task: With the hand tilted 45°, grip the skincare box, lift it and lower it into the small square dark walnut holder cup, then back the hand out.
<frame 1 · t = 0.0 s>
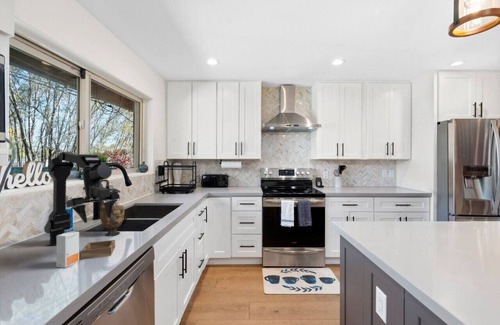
hand: (97, 220, 100), 15 cm above the worktop, tool pointing down, fingers open, 9 cm apart
walnut holder: (99, 253, 104), on the worktop
skincare box: (68, 264, 93), on the worktop
vase: (111, 234, 131), on the worktop
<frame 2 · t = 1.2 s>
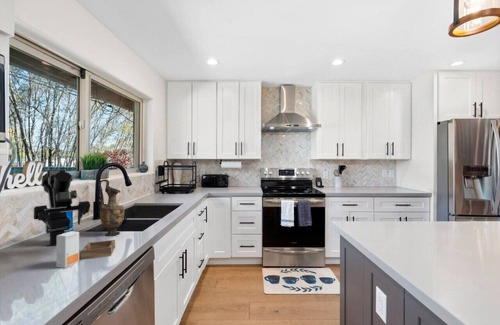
hand: (65, 226, 98), 13 cm above the worktop, tool tilted 45°, fingers open, 9 cm apart
nothing on the worktop moved.
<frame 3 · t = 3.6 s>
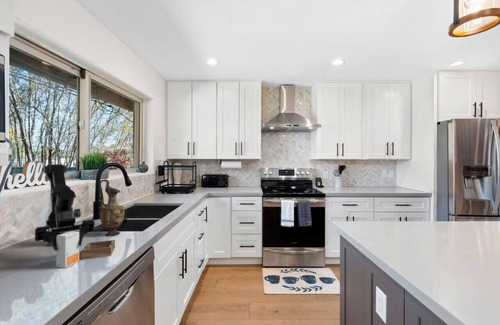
hand: (68, 248, 92), 7 cm above the worktop, tool tilted 45°, fingers closed on skincare box, 7 cm apart
skincare box: (68, 264, 93), on the worktop, touching gripper
everything else where it was.
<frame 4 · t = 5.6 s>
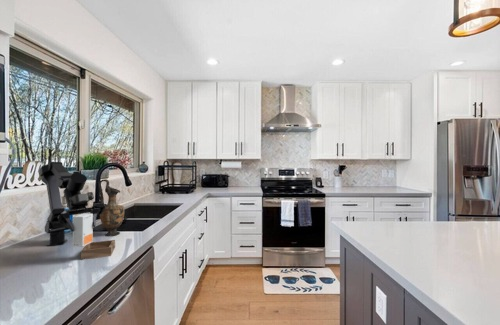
hand: (84, 228, 97), 13 cm above the worktop, tool tilted 45°, fingers closed on skincare box, 7 cm apart
skincare box: (83, 244, 98), point 6 cm above the worktop, touching gripper
everything else where it was.
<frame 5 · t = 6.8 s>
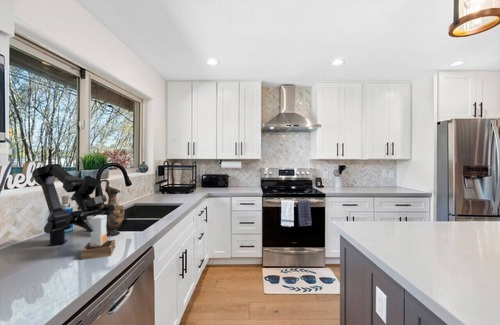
hand: (100, 229, 104), 11 cm above the worktop, tool tilted 45°, fingers closed on skincare box, 7 cm apart
skincare box: (98, 244, 104), point 4 cm above the worktop, touching gripper
everything else where it was.
when the fingers open (8 cm above the worktop, at t = 7.9 s): skincare box stays where it is, resting on walnut holder.
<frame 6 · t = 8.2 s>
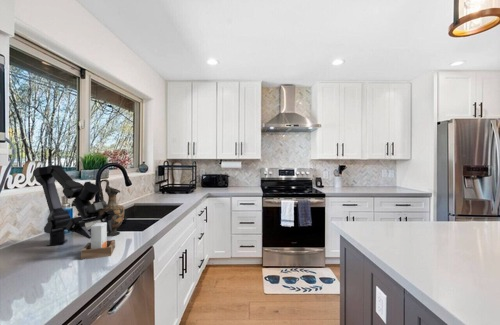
hand: (101, 235, 104), 8 cm above the worktop, tool tilted 45°, fingers open, 9 cm apart
skincare box: (99, 252, 105), resting on walnut holder
everything else where it was.
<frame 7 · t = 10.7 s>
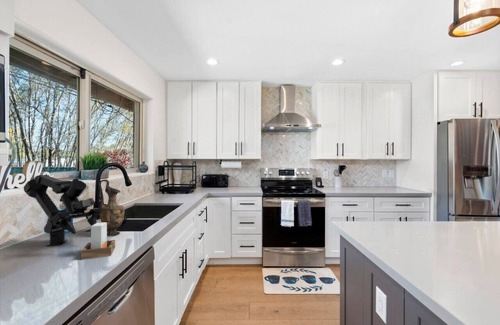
hand: (85, 231, 107), 9 cm above the worktop, tool tilted 40°, fingers open, 9 cm apart
nothing on the worktop moved.
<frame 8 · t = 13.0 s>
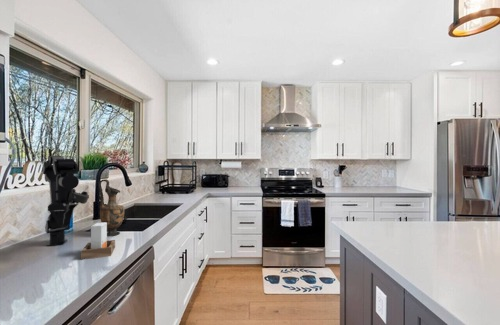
hand: (65, 223, 104), 13 cm above the worktop, tool pointing down, fingers open, 9 cm apart
nothing on the worktop moved.
at the end: skincare box 0.2 cm off-centre on the walnut holder, point 0.4 cm above the walnut holder's base; skincare box tilted 0°; the gripper is holding nothing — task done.
